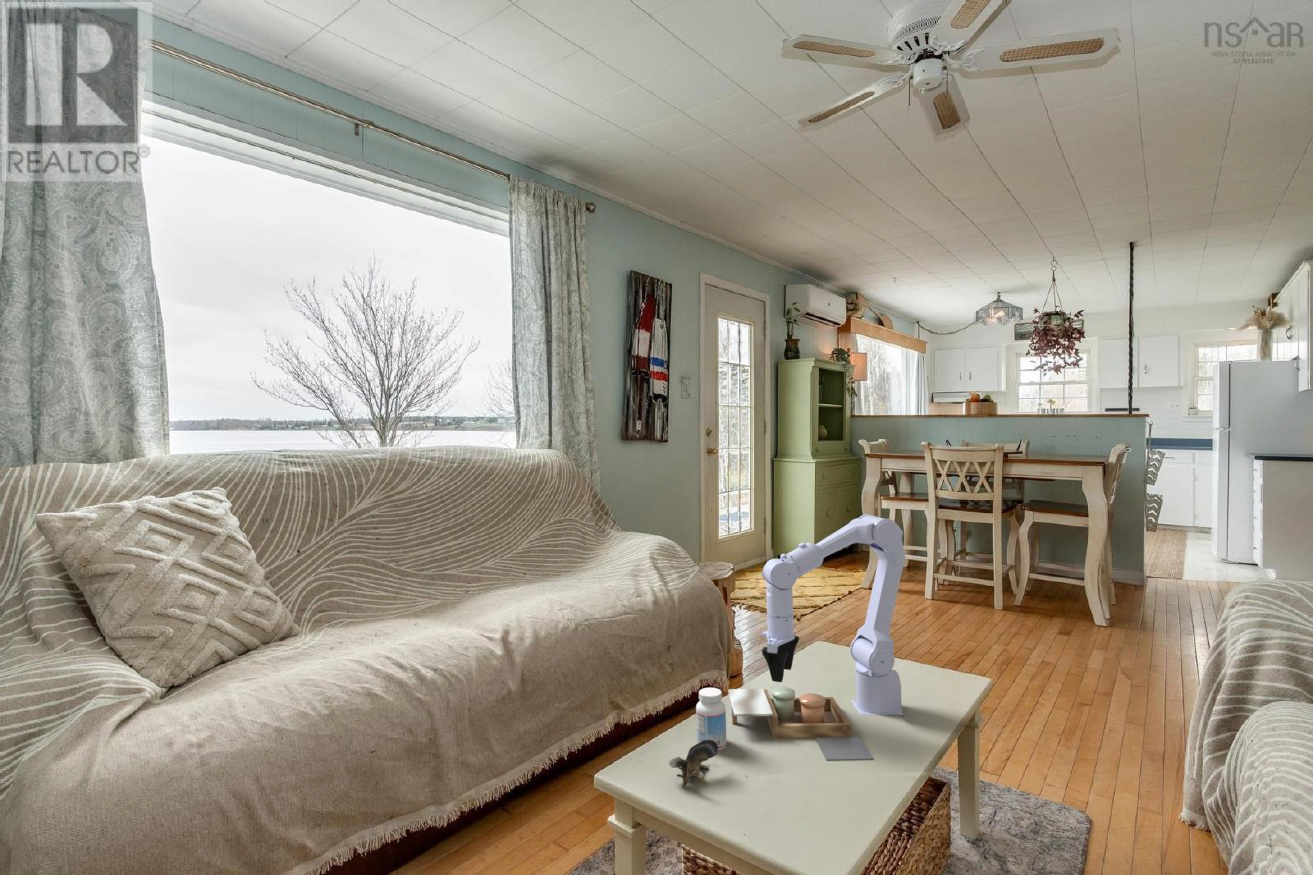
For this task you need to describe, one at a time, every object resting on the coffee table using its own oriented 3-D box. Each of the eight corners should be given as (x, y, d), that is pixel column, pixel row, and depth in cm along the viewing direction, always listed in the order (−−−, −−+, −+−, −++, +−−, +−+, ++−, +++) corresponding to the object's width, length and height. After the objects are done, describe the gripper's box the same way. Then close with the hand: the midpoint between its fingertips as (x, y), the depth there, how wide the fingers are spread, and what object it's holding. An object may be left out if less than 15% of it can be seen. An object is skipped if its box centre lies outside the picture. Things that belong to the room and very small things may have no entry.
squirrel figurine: (712, 789, 114) (728, 756, 122) (688, 754, 115) (706, 724, 123) (681, 801, 118) (698, 769, 126) (658, 768, 118) (677, 738, 126)
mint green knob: (793, 711, 146) (792, 686, 146) (797, 720, 141) (797, 695, 141) (770, 711, 146) (770, 687, 146) (774, 721, 141) (774, 696, 141)
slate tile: (859, 740, 133) (859, 736, 133) (873, 762, 124) (873, 758, 124) (815, 741, 133) (815, 737, 133) (826, 763, 124) (826, 759, 124)
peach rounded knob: (822, 718, 142) (821, 693, 142) (828, 729, 137) (828, 703, 137) (797, 718, 142) (797, 693, 142) (803, 729, 137) (802, 704, 137)
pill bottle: (729, 741, 134) (728, 687, 134) (722, 755, 128) (721, 699, 128) (701, 737, 136) (700, 684, 135) (693, 751, 130) (692, 696, 130)
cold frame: (833, 710, 147) (832, 686, 147) (851, 739, 133) (850, 713, 133) (728, 711, 148) (727, 688, 148) (735, 741, 134) (734, 715, 134)
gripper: (771, 604, 151) (773, 661, 152) (752, 621, 138) (754, 684, 139) (801, 606, 148) (803, 665, 148) (785, 624, 135) (787, 689, 135)
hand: (781, 675), depth 143 cm, fingers open, 7 cm apart
